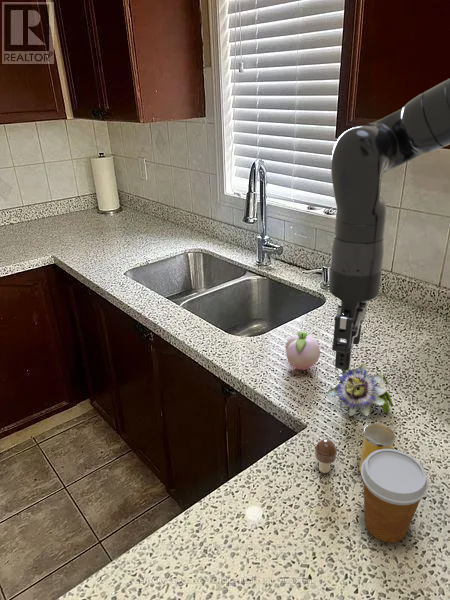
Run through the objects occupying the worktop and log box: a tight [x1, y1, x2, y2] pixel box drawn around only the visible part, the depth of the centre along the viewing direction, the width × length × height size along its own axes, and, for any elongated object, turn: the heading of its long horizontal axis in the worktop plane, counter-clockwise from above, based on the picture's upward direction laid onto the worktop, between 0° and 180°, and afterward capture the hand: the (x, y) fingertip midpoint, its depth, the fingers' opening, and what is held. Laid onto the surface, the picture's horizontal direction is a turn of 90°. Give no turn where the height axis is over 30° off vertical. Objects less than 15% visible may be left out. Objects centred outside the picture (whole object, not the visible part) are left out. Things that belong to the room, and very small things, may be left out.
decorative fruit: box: [285, 331, 321, 370], centre depth 109 cm, size 9×8×10 cm
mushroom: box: [314, 438, 338, 474], centre depth 81 cm, size 4×4×7 cm
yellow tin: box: [358, 423, 396, 474], centre depth 79 cm, size 5×5×9 cm
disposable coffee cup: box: [360, 449, 429, 544], centre depth 69 cm, size 10×10×12 cm
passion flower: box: [327, 362, 394, 417], centre depth 97 cm, size 11×11×12 cm
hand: (347, 354), depth 75 cm, fingers open, 8 cm apart
